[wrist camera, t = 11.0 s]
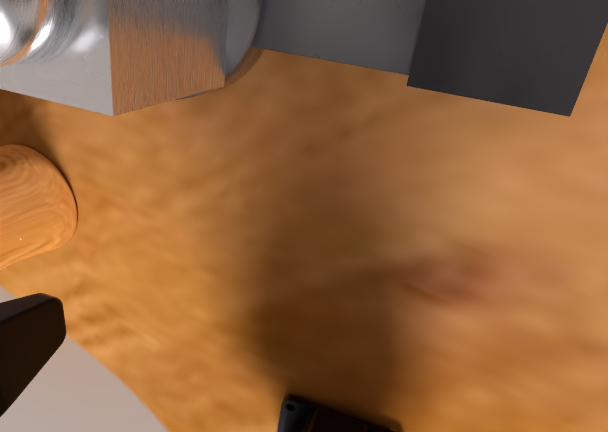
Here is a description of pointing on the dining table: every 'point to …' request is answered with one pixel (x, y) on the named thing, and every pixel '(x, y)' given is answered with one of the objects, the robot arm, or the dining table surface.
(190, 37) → the cube with round boss
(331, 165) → the dining table surface
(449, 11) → the ratchet
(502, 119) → the dining table surface
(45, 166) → the beer glass
